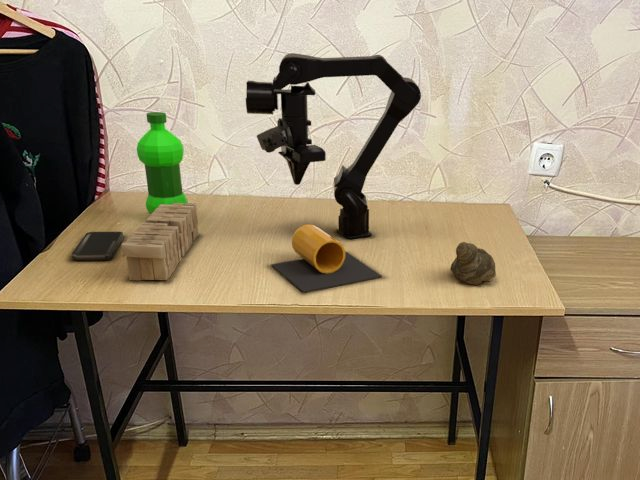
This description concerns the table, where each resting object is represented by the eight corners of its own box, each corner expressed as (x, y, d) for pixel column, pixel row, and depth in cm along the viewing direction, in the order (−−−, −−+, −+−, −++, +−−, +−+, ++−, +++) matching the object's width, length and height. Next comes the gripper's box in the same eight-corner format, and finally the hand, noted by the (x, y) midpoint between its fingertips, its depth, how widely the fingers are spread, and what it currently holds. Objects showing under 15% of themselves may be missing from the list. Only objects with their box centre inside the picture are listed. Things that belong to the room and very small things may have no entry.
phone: (70, 255, 149) (87, 231, 162) (71, 260, 149) (88, 236, 162) (110, 255, 150) (124, 231, 163) (111, 260, 151) (125, 236, 164)
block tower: (166, 237, 167) (124, 282, 141) (161, 202, 164) (118, 241, 137) (200, 238, 168) (165, 284, 142) (197, 203, 164) (160, 243, 138)
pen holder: (322, 222, 157) (345, 237, 149) (322, 253, 161) (345, 270, 153) (291, 226, 153) (313, 242, 146) (292, 258, 157) (314, 276, 149)
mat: (345, 253, 163) (345, 251, 163) (381, 277, 151) (381, 275, 151) (271, 266, 153) (271, 264, 153) (303, 293, 142) (303, 291, 142)
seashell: (433, 243, 154) (445, 259, 145) (479, 213, 153) (494, 228, 145) (458, 283, 160) (471, 301, 151) (502, 255, 159) (518, 271, 150)
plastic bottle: (144, 226, 171) (129, 117, 159) (149, 212, 180) (135, 109, 168) (189, 225, 173) (177, 118, 161) (191, 211, 182) (180, 109, 170)
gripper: (244, 109, 162) (248, 177, 169) (277, 125, 149) (281, 199, 156) (289, 107, 168) (292, 173, 175) (326, 122, 154) (327, 193, 162)
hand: (297, 184), depth 167 cm, fingers closed
